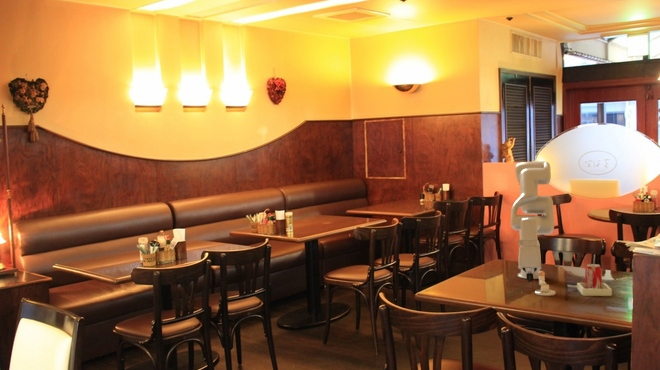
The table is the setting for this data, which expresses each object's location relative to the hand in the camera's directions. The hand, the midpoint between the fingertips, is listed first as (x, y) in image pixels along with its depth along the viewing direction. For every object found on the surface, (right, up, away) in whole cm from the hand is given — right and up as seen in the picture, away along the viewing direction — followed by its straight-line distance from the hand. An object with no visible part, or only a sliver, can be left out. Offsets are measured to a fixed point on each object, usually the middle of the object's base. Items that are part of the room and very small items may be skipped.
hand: (529, 281), depth 305 cm
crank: (+5, -3, -6) cm, 8 cm away
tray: (+26, -3, -12) cm, 29 cm away
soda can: (+26, -3, -11) cm, 28 cm away
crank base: (+4, -4, -11) cm, 12 cm away
